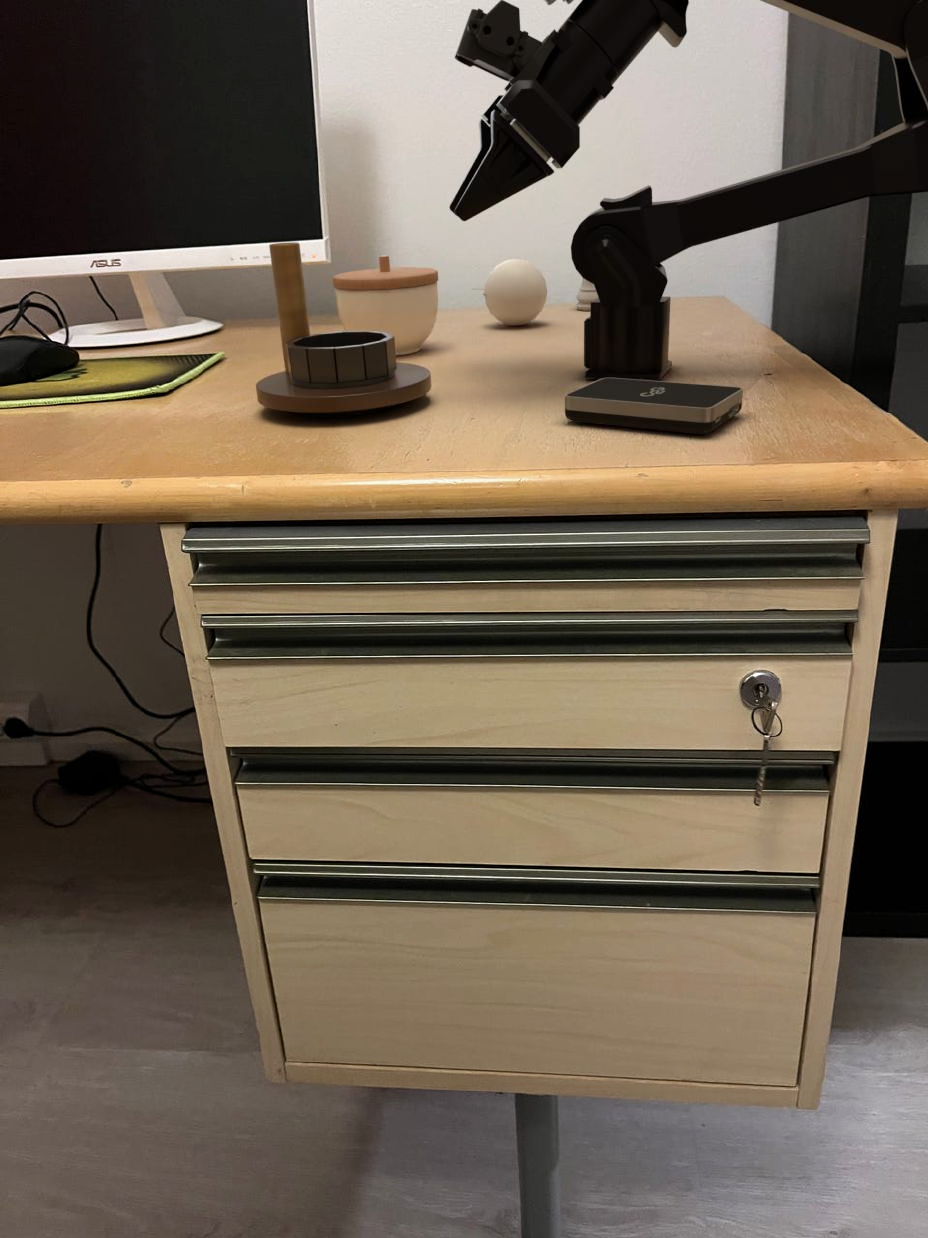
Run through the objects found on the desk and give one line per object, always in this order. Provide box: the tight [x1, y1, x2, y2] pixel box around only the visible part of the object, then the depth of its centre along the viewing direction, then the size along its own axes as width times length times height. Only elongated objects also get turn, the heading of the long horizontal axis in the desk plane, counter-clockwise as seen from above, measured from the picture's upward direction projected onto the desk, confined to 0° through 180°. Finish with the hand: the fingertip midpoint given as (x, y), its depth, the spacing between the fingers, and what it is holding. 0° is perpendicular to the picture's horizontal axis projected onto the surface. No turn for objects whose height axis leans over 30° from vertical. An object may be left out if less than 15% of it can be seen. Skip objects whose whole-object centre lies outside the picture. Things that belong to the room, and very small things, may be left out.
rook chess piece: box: [575, 277, 598, 312], centre depth 120 cm, size 4×4×8 cm
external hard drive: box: [564, 378, 744, 435], centre depth 68 cm, size 7×11×2 cm, turn 56°
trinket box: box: [332, 255, 439, 356], centre depth 98 cm, size 11×11×9 cm
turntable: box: [255, 241, 432, 413], centre depth 75 cm, size 14×14×11 cm
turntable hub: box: [299, 405, 394, 418], centre depth 77 cm, size 8×8×1 cm
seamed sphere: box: [471, 258, 548, 326], centre depth 111 cm, size 10×7×7 cm
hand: (455, 214), depth 77 cm, fingers open, 9 cm apart
